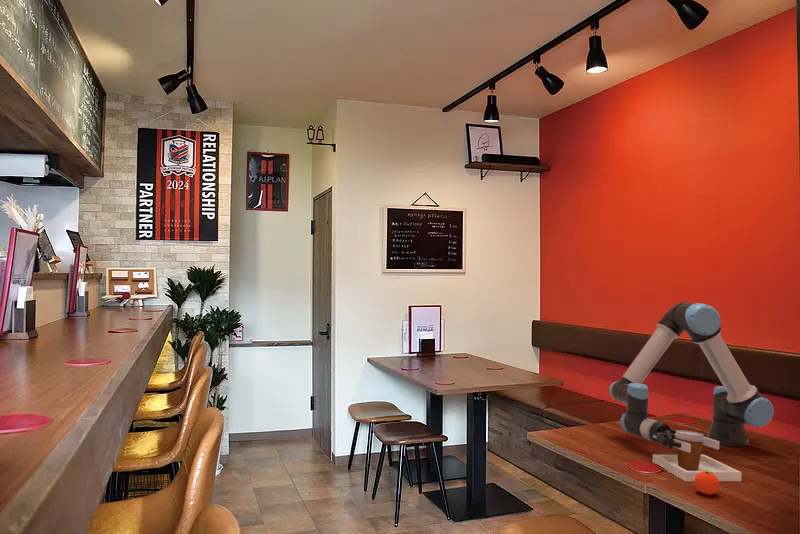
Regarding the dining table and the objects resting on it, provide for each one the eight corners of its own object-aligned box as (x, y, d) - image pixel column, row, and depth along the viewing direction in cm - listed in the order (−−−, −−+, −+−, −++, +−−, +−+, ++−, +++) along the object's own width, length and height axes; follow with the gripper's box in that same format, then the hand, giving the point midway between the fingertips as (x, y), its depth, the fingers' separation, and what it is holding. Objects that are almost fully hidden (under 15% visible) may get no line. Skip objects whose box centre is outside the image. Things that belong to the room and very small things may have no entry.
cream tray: (703, 462, 227) (703, 454, 227) (741, 481, 207) (741, 472, 207) (652, 462, 224) (652, 454, 224) (685, 481, 205) (686, 472, 205)
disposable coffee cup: (706, 473, 210) (708, 436, 211) (675, 469, 212) (677, 433, 213) (699, 466, 219) (701, 432, 220) (670, 463, 221) (672, 428, 222)
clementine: (701, 488, 199) (702, 465, 199) (724, 494, 194) (725, 471, 194) (690, 492, 194) (691, 469, 194) (713, 499, 188) (714, 476, 188)
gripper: (680, 439, 237) (729, 455, 218) (629, 443, 227) (677, 460, 208) (681, 419, 237) (730, 433, 218) (630, 423, 228) (677, 438, 208)
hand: (704, 446), depth 213 cm, fingers open, 13 cm apart
